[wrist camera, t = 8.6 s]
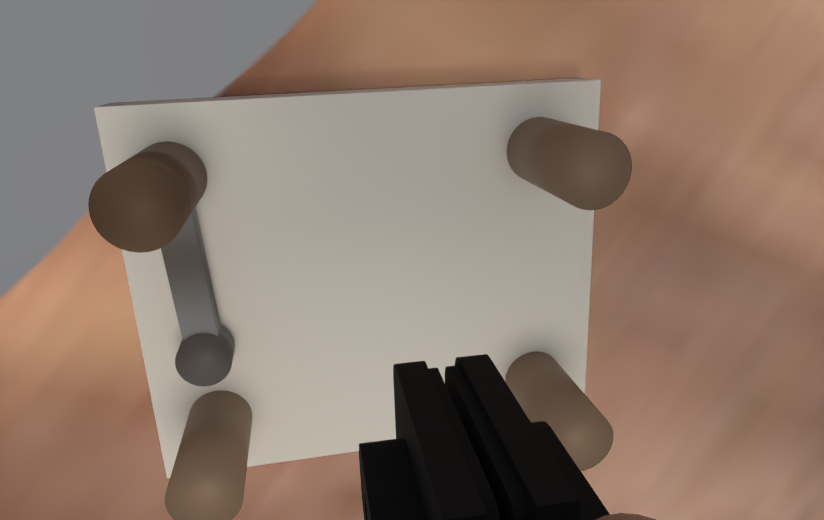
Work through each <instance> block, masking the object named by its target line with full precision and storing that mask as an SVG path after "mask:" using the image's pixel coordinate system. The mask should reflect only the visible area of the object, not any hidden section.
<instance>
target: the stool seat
mask: <svg viewBox="0 0 824 520" xmlns="http://www.w3.org/2000/svg"><path fill="white" fill-rule="evenodd" d="M600 87H601V80H597V79H584V78H568V79H550V80H531V81H512V82H494V83H475V84H456V85H438V86H419V87H400V88H382V89H363V90H344V91H326V92H307V93H288V94H269V95H251V96H232V97H213V98H195V99H176V100H158V101H141V102H140V101H139V102H121V103H109V104H105V105H101V106H97V107H94V110H95V116H96V121H97V126H98V131H99V136H100V141H101V145H102V151H103V156H104V161H105V166H106V171H107V172H108V171H109V170H111V169H113V168H114V167H116V166H118V165H119V164H121V163H122V162H124V161H126V160H127V159H129V158H130V157H132V156H134V155H135V154H137V153H138V152H140V151H142V150H143V149H145V148H147V147H148V146H150V145H152V144H155V143H158V142H167V141H168V142H176V143H179V144H182V145H184V146H187V147H188V148H190V149H191V150H193V151H194V152H195V153H196V154H197V155H198V156H199V158H200V159H201V160H202V162H203V164H204V166H205V169H206V172H207V187H206V190H205V192H204V195H203V196H202V198H201V199H200V201H199V202H198V204H197V205H196V212H197V217H198V221H199V226H200V231H201V235H202V240H203V245H204V249H205V254H206V259H207V263H208V268H209V273H210V277H211V282H212V287H213V291H214V296H215V301H216V305H217V310H218V315H219V319H220V324H221V326H222V327H224V328H226V329H227V330H228V331H229V332H230V333H231V335H232V337H233V339H234V342H235V351H234V356H233V361H232V366H231V370H230V372H229V374H228V375H227V376H226V378H225V379H223V380H222V381H221V382H219V383H217V384H215V385H212V386H196V385H193V384H190V383H188V382H187V381H185V380H184V379H183V378H182V377H181V376H180V375H179V373H178V372H177V370H176V366H175V357H176V354H177V351H178V349H179V346H180V344H181V341H182V335H181V331H180V327H179V323H178V318H177V314H176V310H175V306H174V302H173V297H172V293H171V289H170V285H169V281H168V276H167V272H166V268H165V264H164V260H163V255H162V251H161V248H160V249H158V250H155V251H151V252H143V253H139V252H130V251H126V250H123V249H122V252H123V257H124V262H125V267H126V272H127V278H128V283H129V288H130V293H131V298H132V303H133V308H134V313H135V318H136V323H137V328H138V333H139V338H140V343H141V348H142V353H143V359H144V364H145V369H146V374H147V379H148V384H149V389H150V394H151V399H152V404H153V409H154V414H155V419H156V424H157V429H158V434H159V440H160V445H161V450H162V455H163V460H164V465H165V470H166V475H167V478H170V480H169V484H168V487H167V490H166V494H165V505H166V508H167V510H168V512H169V514H170V515H171V517H172V518H173V519H174V520H232V519H233V518H234V517H235V516H236V515H237V513H238V512H239V510H240V508H241V506H242V503H243V496H244V487H245V479H246V470H247V467H249V466H256V465H263V464H270V463H277V462H284V461H291V460H298V459H305V458H312V457H319V456H326V455H333V454H340V453H347V452H354V451H359V443H367V442H375V441H383V440H391V439H396V426H395V403H394V381H393V366H394V364H398V363H408V362H417V361H425V362H426V364H427V367H428V368H438V369H439V372H440V374H441V376H442V378H443V381H444V383H445V368H446V367H447V366H455V360H456V357H465V356H474V355H483V354H488V356H489V357H490V358H491V360H492V361H493V363H494V365H495V366H496V368H497V369H498V371H499V373H500V374H501V376H502V377H503V379H504V380H505V382H506V384H507V385H508V387H509V388H510V390H511V392H512V393H513V395H514V396H515V398H516V399H517V401H518V403H519V404H520V406H521V407H522V409H523V411H524V412H525V414H526V415H527V417H528V419H529V420H530V422H536V421H545V422H547V423H548V425H549V426H550V427H551V428H552V430H553V431H554V433H555V434H556V436H557V437H558V439H559V440H560V442H561V443H562V445H563V446H564V447H565V449H566V450H567V452H568V453H569V455H570V456H571V458H572V459H573V461H574V462H575V464H576V465H577V467H578V468H579V470H580V471H584V470H587V469H590V468H592V467H594V466H595V465H597V464H598V463H599V462H601V461H602V460H603V459H604V458H605V456H606V455H607V454H608V452H609V450H610V448H611V446H612V442H613V430H612V427H611V425H610V423H609V422H608V421H607V420H606V418H605V417H604V416H603V415H602V414H601V413H600V411H599V410H598V409H597V408H596V407H595V406H594V404H593V403H592V402H591V401H590V400H589V399H588V397H587V396H586V395H585V381H586V362H587V342H588V322H589V303H590V283H591V263H592V244H593V224H594V210H597V209H601V208H604V207H606V206H608V205H610V204H611V203H613V202H614V201H615V200H617V199H618V198H619V197H620V195H621V194H622V193H623V192H624V190H625V189H626V187H627V185H628V182H629V180H630V176H631V171H632V161H631V156H630V153H629V150H628V148H627V147H626V145H625V144H624V142H623V141H622V140H621V139H619V138H618V137H617V136H615V135H613V134H611V133H607V132H603V131H599V130H598V126H599V107H600Z"/></svg>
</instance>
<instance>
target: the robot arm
mask: <svg viewBox="0 0 824 520" xmlns="http://www.w3.org/2000/svg"><path fill="white" fill-rule="evenodd" d="M393 381H394V403H395V426H396V439H391V440H383V441H375V442H367V443H359V460H360V475H361V489H362V501H363V511H364V520H656V519H652V518H649V517H645V516H642V515H638V514H625V513H618V514H611V515H610V514H609V513H608V511H607V510H606V508H605V507H604V505H603V504H602V502H601V501H600V499H599V498H598V496H597V495H596V493H595V492H594V490H593V489H592V487H591V486H590V484H589V483H588V481H587V480H586V479H585V477H584V476H583V474H582V473H581V471H580V470H579V468H578V467H577V465H576V464H575V462H574V461H573V459H572V458H571V456H570V455H569V453H568V452H567V450H566V449H565V447H564V446H563V445H562V443H561V442H560V440H559V439H558V437H557V436H556V434H555V433H554V431H553V430H552V428H551V427H550V426H549V425H548V423H547V422H545V421H536V422H530V420H529V419H528V417H527V415H526V414H525V412H524V411H523V409H522V407H521V406H520V404H519V403H518V401H517V399H516V398H515V396H514V395H513V393H512V392H511V390H510V388H509V387H508V385H507V384H506V382H505V380H504V379H503V377H502V376H501V374H500V373H499V371H498V369H497V368H496V366H495V365H494V363H493V361H492V360H491V358H490V357H489V356H488V354H483V355H474V356H465V357H456V360H455V366H447V367H446V368H445V383H444V381H443V378H442V376H441V374H440V372H439V369H438V368H428V367H427V364H426V362H425V361H417V362H408V363H398V364H394V366H393Z"/></svg>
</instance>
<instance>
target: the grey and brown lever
mask: <svg viewBox="0 0 824 520" xmlns="http://www.w3.org/2000/svg"><path fill="white" fill-rule="evenodd" d="M206 187H207V172H206V169H205V166H204V164H203V162H202V160H201V159H200V158H199V156H198V155H197V154H196V153H195V152H194V151H193V150H191V149H190V148H188V147H187V146H184V145H182V144H179V143H176V142H168V141H167V142H158V143H155V144H152V145H150V146H148V147H147V148H145V149H143V150H142V151H140V152H138V153H137V154H135V155H134V156H132V157H130V158H129V159H127V160H126V161H124V162H122V163H121V164H119V165H118V166H116V167H114V168H113V169H111V170H109V171H108V172H106V173H105V174H104V175H103V176H101V177H100V178H99V179H98V181H97V182H96V183H95V185H94V186H93V188H92V191H91V193H90V197H89V213H90V217H91V220H92V222H93V224H94V226H95V228H96V229H97V231H98V232H99V233H100V235H101V236H102V237H103V238H104V239H105V240H107V241H108V242H109V243H111V244H112V245H114V246H116V247H118V248H120V249H123V250H126V251H130V252H139V253H143V252H151V251H155V250H158V249H160V248H161V251H162V255H163V260H164V264H165V268H166V272H167V276H168V281H169V285H170V289H171V293H172V297H173V302H174V306H175V310H176V314H177V318H178V323H179V327H180V331H181V335H182V341H181V344H180V346H179V349H178V351H177V354H176V357H175V366H176V370H177V372H178V373H179V375H180V376H181V377H182V378H183V379H184V380H185V381H187V382H188V383H190V384H193V385H196V386H212V385H215V384H217V383H219V382H221V381H222V380H223V379H225V378H226V376H227V375H228V374H229V372H230V370H231V366H232V361H233V356H234V351H235V342H234V339H233V337H232V335H231V333H230V332H229V331H228V330H227V329H226V328H224V327H222V326H221V324H220V319H219V315H218V310H217V305H216V301H215V296H214V291H213V287H212V282H211V277H210V273H209V268H208V263H207V259H206V254H205V249H204V245H203V240H202V235H201V231H200V226H199V221H198V217H197V212H196V205H197V204H198V202H199V201H200V199H201V198H202V196H203V195H204V192H205V190H206Z"/></svg>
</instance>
